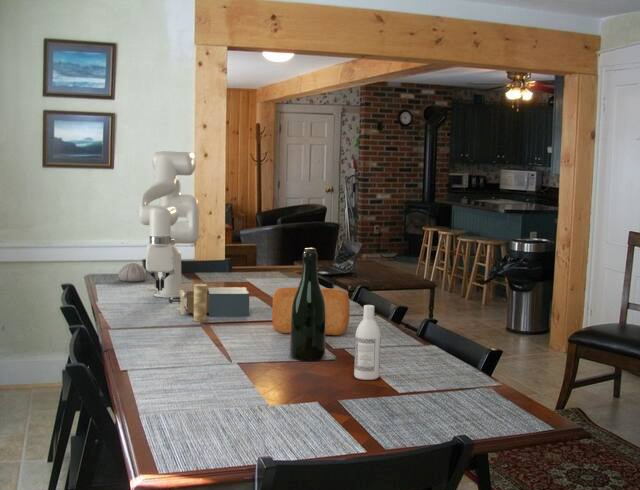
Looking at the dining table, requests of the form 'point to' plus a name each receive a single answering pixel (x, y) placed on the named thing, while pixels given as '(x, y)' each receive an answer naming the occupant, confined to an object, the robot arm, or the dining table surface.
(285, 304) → the bread
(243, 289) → the cabinet
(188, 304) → the drawer
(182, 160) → the robot arm
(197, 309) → the cylinder
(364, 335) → the bath foam
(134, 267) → the sea urchin shell
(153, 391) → the dining table surface
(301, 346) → the green wine bottle
